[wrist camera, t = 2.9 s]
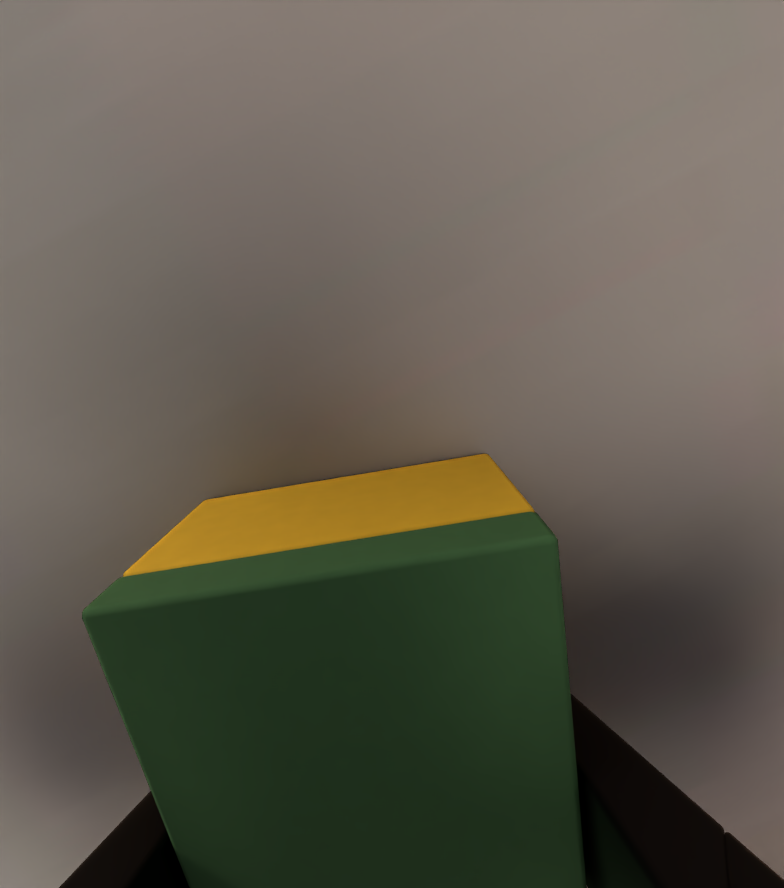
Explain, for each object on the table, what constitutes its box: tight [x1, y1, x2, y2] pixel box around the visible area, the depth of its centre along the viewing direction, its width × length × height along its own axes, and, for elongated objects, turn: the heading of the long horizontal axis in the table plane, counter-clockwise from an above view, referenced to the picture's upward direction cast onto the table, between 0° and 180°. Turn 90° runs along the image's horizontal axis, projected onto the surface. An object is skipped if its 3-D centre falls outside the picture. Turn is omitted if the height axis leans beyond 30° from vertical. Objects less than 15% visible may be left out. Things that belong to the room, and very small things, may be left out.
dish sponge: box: [82, 454, 587, 888], centre depth 8 cm, size 9×6×4 cm, turn 10°
